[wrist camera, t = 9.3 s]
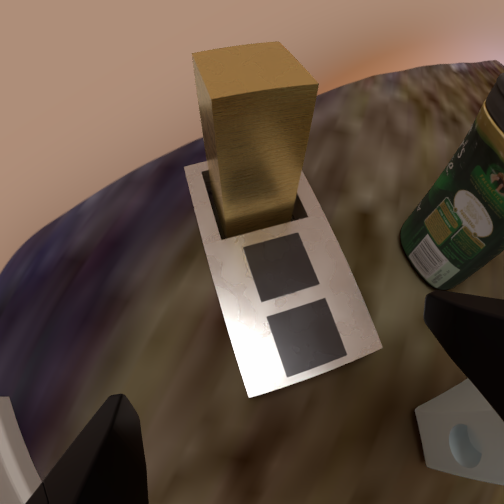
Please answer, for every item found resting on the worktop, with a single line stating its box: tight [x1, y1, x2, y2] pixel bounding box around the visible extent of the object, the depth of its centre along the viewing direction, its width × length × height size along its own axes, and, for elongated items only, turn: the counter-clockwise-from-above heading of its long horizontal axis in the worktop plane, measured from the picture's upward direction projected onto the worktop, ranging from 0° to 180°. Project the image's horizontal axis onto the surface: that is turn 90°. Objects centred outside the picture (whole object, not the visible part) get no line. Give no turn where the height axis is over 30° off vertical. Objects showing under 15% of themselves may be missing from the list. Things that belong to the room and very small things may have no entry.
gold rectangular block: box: [192, 42, 319, 239], centre depth 19 cm, size 5×5×14 cm
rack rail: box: [184, 161, 383, 398], centre depth 22 cm, size 18×9×3 cm, turn 17°
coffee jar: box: [400, 73, 504, 290], centre depth 16 cm, size 10×8×19 cm
